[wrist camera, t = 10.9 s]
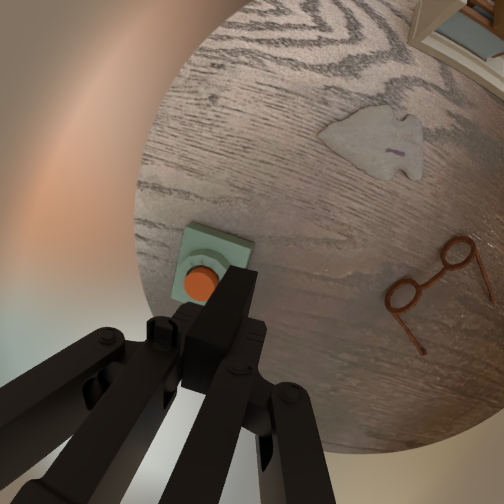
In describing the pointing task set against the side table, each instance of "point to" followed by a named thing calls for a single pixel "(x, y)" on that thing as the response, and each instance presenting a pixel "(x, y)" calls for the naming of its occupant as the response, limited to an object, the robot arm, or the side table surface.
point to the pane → (490, 14)
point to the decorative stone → (378, 142)
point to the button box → (208, 255)
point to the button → (201, 283)
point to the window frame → (460, 40)
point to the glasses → (434, 279)
